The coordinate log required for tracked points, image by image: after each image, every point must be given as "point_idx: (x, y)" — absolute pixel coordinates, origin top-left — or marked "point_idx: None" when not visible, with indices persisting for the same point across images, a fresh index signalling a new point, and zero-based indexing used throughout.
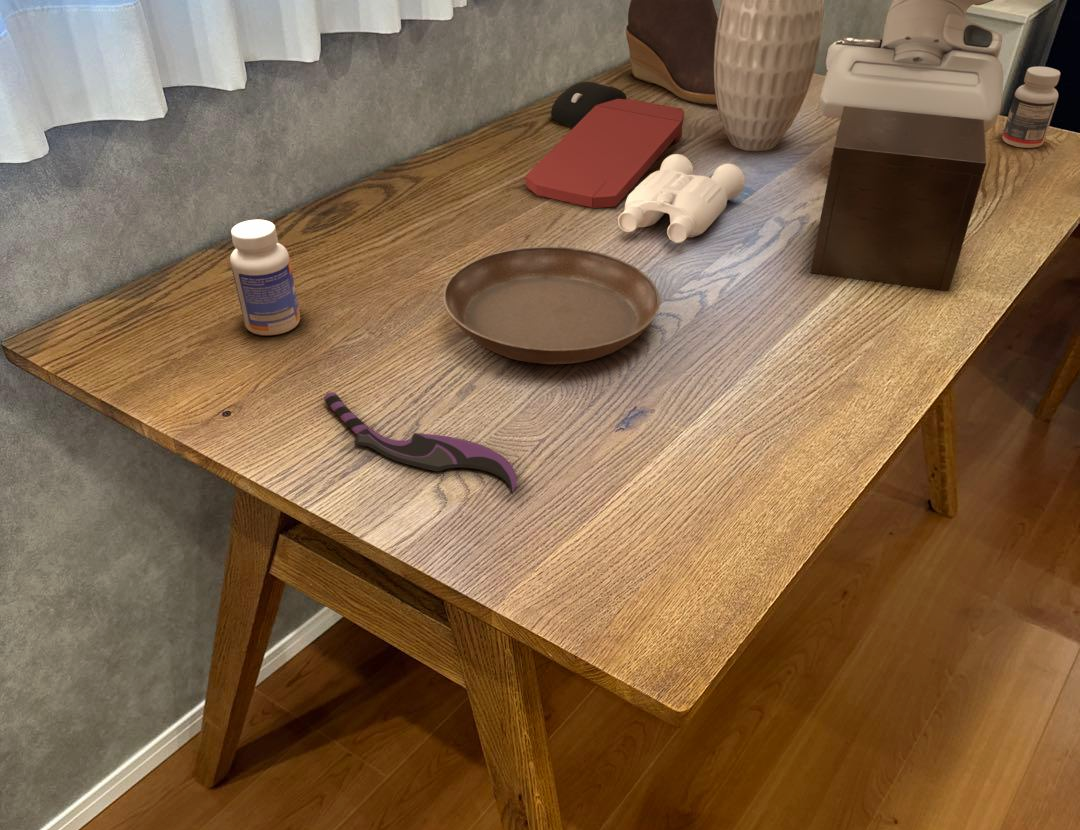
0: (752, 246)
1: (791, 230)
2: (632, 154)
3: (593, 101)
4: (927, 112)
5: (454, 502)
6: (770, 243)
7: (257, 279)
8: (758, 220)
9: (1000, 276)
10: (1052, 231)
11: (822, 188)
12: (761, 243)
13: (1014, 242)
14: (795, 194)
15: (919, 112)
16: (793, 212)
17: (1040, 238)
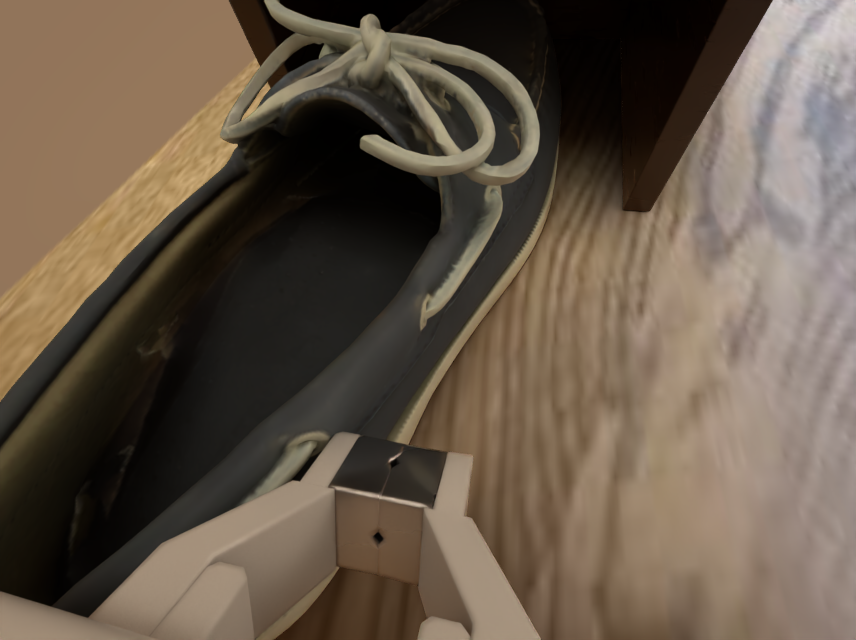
0: (805, 91)
1: (729, 177)
2: None
3: None
4: (45, 620)
5: None
6: (764, 110)
7: None
8: (851, 215)
9: (266, 84)
10: (39, 279)
11: (696, 517)
12: (787, 106)
13: (166, 211)
14: (795, 435)
15: (132, 634)
16: (756, 283)
17: (93, 239)
